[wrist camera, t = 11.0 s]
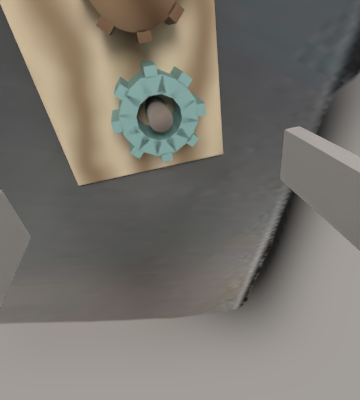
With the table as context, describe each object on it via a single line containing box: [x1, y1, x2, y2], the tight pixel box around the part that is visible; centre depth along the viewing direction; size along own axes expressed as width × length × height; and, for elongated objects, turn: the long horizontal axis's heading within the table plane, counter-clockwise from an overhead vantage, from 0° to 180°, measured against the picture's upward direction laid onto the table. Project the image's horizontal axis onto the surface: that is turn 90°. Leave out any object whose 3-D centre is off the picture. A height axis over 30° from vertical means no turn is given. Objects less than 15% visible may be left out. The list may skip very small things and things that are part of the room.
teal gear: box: [111, 60, 206, 162], centre depth 29 cm, size 10×10×5 cm
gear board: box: [0, 0, 223, 186], centre depth 26 cm, size 20×24×8 cm
